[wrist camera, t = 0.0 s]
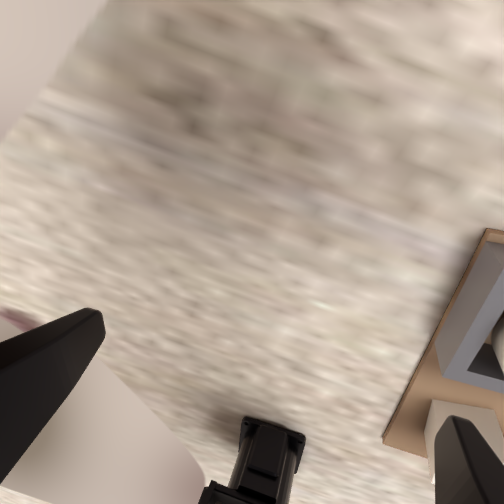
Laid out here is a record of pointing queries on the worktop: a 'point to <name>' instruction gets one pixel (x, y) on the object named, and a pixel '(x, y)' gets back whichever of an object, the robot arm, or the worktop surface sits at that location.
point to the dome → (499, 342)
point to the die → (478, 416)
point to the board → (439, 384)
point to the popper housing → (475, 324)
